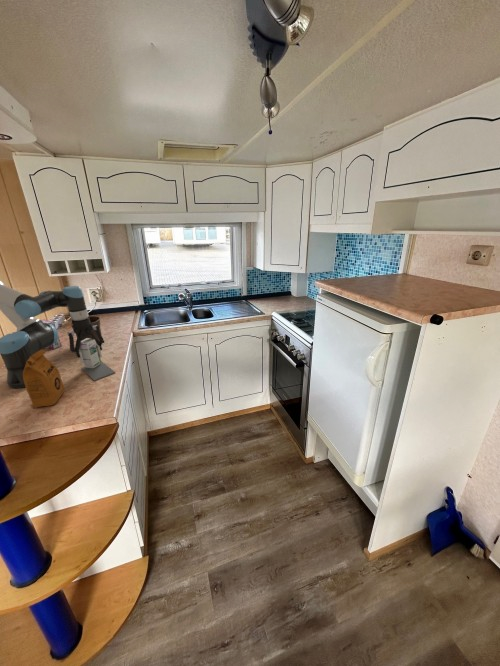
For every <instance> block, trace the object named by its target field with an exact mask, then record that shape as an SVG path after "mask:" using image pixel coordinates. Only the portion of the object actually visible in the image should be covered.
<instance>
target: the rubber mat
mask: <svg viewBox="0 0 500 666" xmlns="http://www.w3.org/2000/svg"><path fill="white" fill-rule="evenodd" d="M81 370H82V371H83V372H84V373H85V374H86V375H87V376H88V377H89V378H91V380H93V381H94V382H96V381H98V379H99V380H101V379H103V377H104V378H106V377H109V376H111V374H112V375H114V374H116V371H114V369H112V368H111V367H110V366H109V365H107V364H106V363H104V361H102V360H101V364H100V365H98V366H96V367H95V368H86V367H84V366H83V367H81ZM108 375H109V376H108ZM100 378H101V379H100Z"/></svg>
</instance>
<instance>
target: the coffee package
mask: <svg viewBox="0 0 500 666" xmlns="http://www.w3.org/2000/svg"><path fill="white" fill-rule="evenodd" d="M45 353H46V351H45V350H42V349H41V350H39V351H38V352H36V353H35V354H33V355H32V356H30V358H29V359H28V360H27V362H26V365H25V368H24V371H23V380H24V384H25V389H26V392H27V394H28V396H29V399H30V402H31V404H32V406H33V408H34V409H36V408H41V407H49V406H52V405H55V404H57V402H58V401H59V399H60V398H61V397H62V395H63V394H64V392H65V389H66V388H65V385H64V383H63V381H62V378H61V377H62V376H61V373H60V371H59V369H58V367H57V366H56V365H55V364H54V363H53V362H51V361H50V360H48V359H47V357H46V356H45V355H44V354H45Z"/></svg>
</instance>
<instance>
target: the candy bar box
mask: <svg viewBox="0 0 500 666" xmlns="http://www.w3.org/2000/svg"><path fill="white" fill-rule="evenodd" d="M41 320H42V322H43V323H49V324H51V325H53V326H54V327H55V328H56V324H55V321H53V320H48V319H41ZM56 329H57V328H56ZM61 347H62V343H61V340H60V337H59V335H58V339H57V341H56V342H55V343H54V344H52V345H51V346H50V347H48V348H50V349H51V350H56V349H58V348H61Z"/></svg>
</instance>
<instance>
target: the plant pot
mask: <svg viewBox="0 0 500 666" xmlns="http://www.w3.org/2000/svg"><path fill="white" fill-rule="evenodd" d="M88 317H89V319H90V323H91V325H92V326H95V325H97V326H99V331H100V333H101V334H102V330H101V317H100V316H97V315H89V316H88ZM69 325H70V326H71V328H72V331H73V330H74V327H73V324H72V320H71V321H70V322H69ZM91 333H92V334H93V335H94V336H95V337H96V338H97V340H98V341H100V340H99V338H98V335H97V333H96V331H95V330H94V329H92V331H91ZM75 335H76V337H77V334H76V333H75ZM86 338H92V337H91V336H90V335H88V336H84V337H82V339H81V341H82V340H84V339H86ZM96 344H97V343H96ZM97 345H98V344H97Z"/></svg>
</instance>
